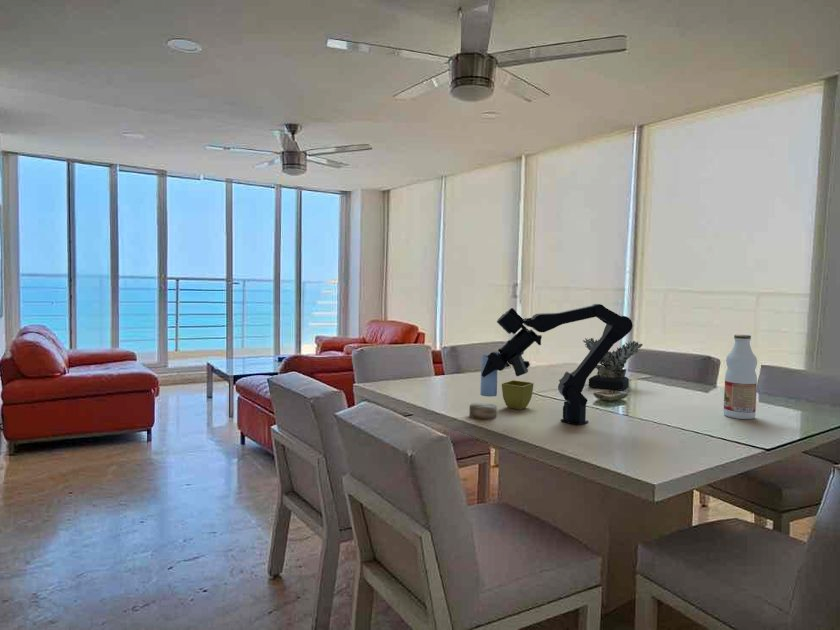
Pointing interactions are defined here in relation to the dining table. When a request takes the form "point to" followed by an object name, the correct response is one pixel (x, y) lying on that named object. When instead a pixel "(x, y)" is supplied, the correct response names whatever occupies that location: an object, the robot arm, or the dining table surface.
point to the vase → (488, 380)
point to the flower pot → (517, 393)
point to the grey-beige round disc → (483, 411)
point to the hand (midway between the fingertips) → (484, 374)
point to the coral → (612, 366)
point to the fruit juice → (740, 380)
